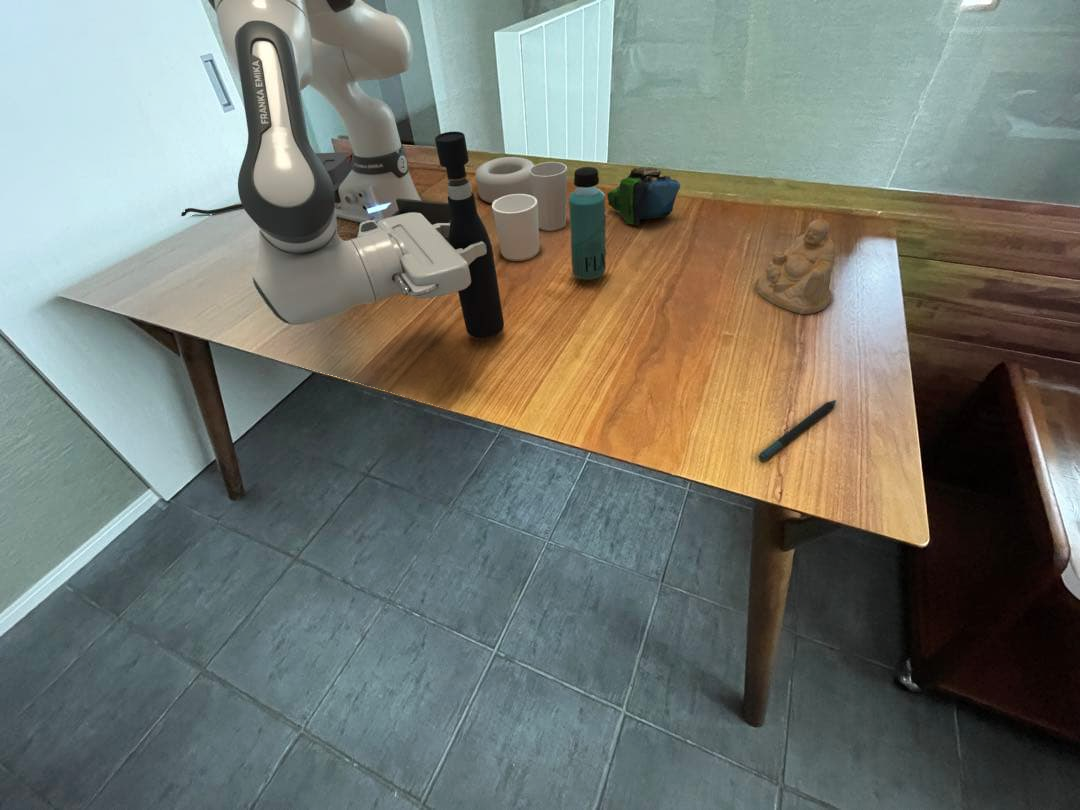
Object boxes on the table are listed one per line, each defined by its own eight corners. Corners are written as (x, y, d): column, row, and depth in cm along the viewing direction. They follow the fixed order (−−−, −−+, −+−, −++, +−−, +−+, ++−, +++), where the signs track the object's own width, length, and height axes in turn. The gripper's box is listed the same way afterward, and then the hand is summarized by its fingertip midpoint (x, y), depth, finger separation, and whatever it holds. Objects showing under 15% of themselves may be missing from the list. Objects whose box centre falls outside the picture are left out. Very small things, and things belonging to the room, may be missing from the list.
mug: (550, 248, 109) (546, 200, 102) (520, 266, 105) (514, 217, 98) (513, 235, 115) (507, 188, 108) (483, 252, 111) (475, 204, 104)
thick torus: (527, 207, 125) (524, 179, 120) (469, 204, 129) (464, 177, 124) (545, 182, 135) (542, 155, 131) (490, 180, 139) (486, 154, 134)
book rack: (392, 271, 108) (375, 215, 100) (412, 253, 113) (397, 198, 105) (452, 280, 104) (438, 222, 95) (470, 260, 109) (459, 203, 100)
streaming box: (359, 170, 153) (353, 152, 150) (336, 191, 143) (329, 171, 140) (314, 171, 156) (308, 153, 152) (289, 191, 146) (281, 172, 142)
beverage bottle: (583, 290, 97) (579, 181, 83) (565, 275, 101) (559, 169, 87) (612, 280, 99) (614, 170, 85) (594, 265, 103) (592, 159, 89)
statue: (879, 231, 82) (846, 233, 77) (836, 313, 90) (804, 320, 85) (811, 208, 90) (777, 208, 85) (777, 285, 98) (744, 290, 92)
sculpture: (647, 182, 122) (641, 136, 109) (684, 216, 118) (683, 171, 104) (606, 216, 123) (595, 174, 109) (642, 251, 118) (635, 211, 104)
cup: (570, 215, 120) (568, 161, 112) (568, 231, 114) (565, 175, 106) (536, 216, 121) (531, 162, 113) (532, 232, 115) (526, 177, 107)
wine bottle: (489, 343, 85) (453, 147, 64) (458, 332, 88) (414, 141, 67) (511, 322, 89) (484, 130, 68) (481, 312, 91) (446, 125, 70)
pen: (838, 405, 71) (840, 399, 70) (763, 463, 65) (765, 457, 64) (830, 401, 72) (833, 395, 71) (756, 458, 66) (758, 452, 65)
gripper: (400, 277, 64) (501, 243, 68) (358, 217, 77) (445, 193, 82) (413, 319, 69) (507, 286, 73) (371, 256, 82) (453, 231, 86)
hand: (474, 236), depth 77 cm, fingers closed on wine bottle, 6 cm apart
